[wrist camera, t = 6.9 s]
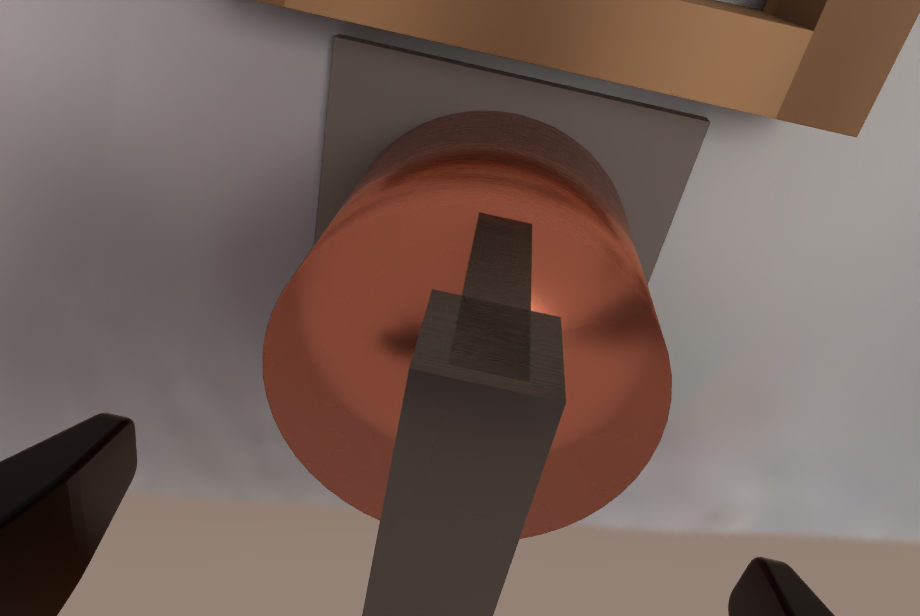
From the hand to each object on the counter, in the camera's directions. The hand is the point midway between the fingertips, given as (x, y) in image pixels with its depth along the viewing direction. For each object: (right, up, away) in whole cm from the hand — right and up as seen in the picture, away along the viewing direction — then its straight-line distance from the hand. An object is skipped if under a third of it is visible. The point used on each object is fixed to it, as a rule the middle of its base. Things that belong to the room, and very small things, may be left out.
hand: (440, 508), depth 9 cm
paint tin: (+1, +4, +7) cm, 9 cm away
